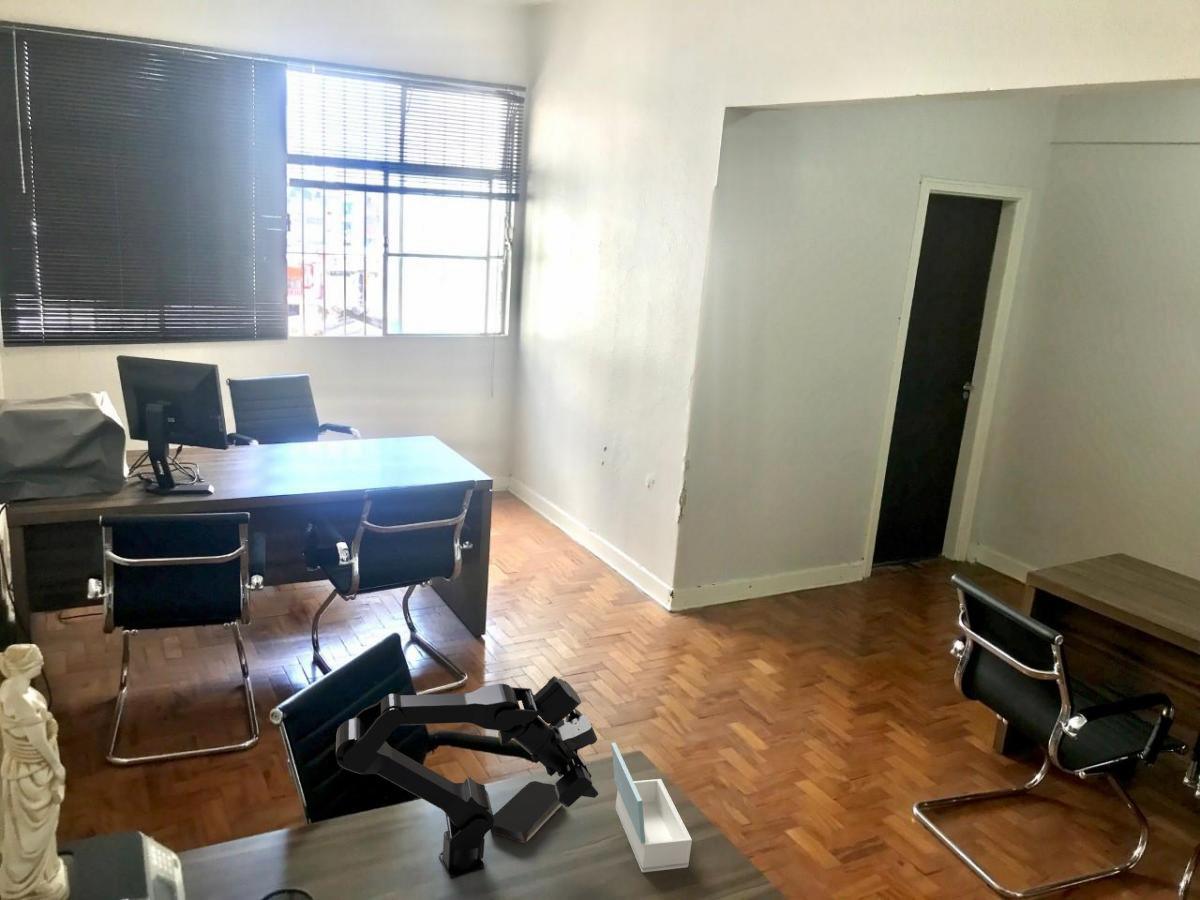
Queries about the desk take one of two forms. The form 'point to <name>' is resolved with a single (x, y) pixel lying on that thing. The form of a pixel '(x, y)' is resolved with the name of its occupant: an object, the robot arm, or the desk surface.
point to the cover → (628, 792)
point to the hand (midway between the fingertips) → (593, 786)
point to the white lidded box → (657, 829)
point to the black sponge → (526, 812)
